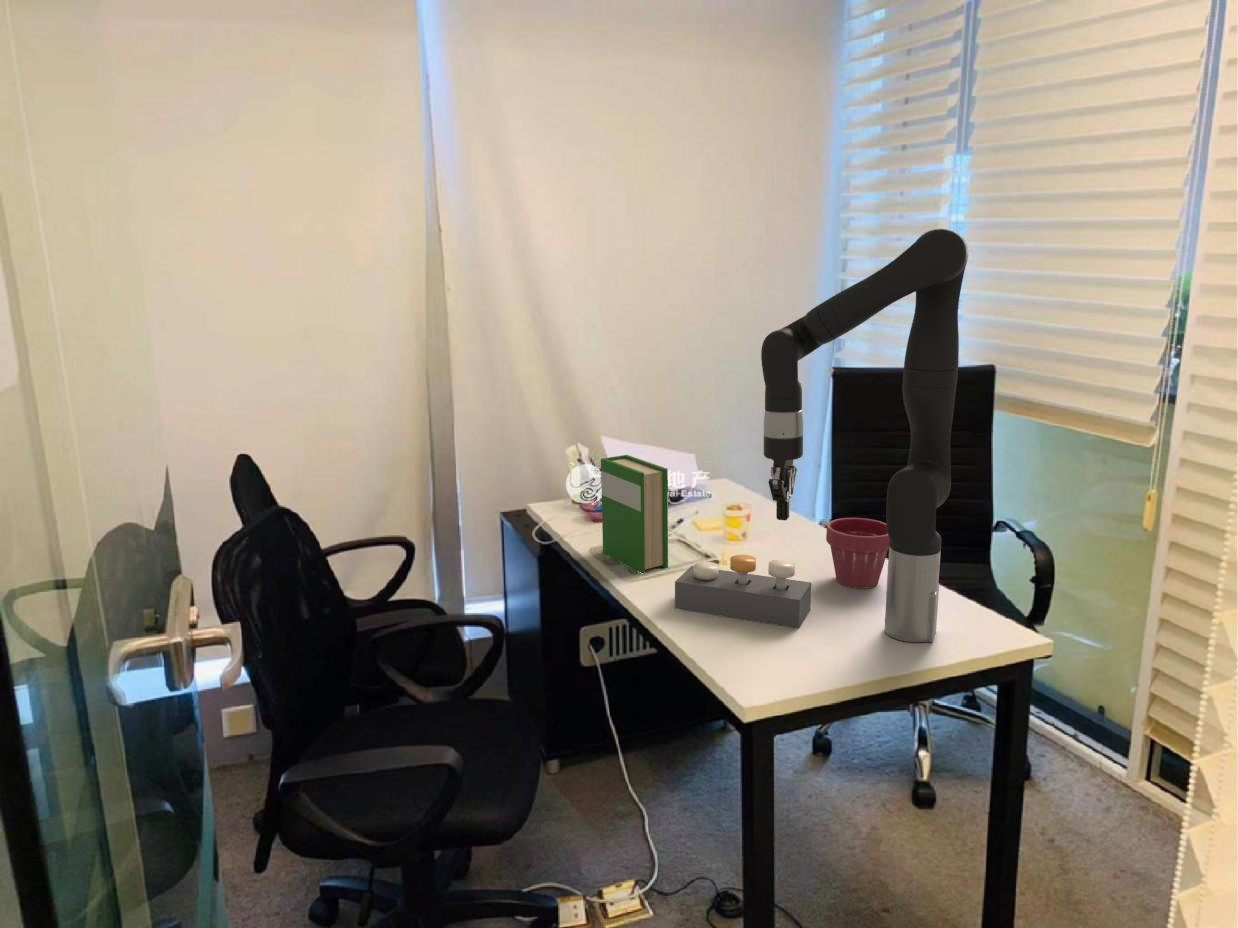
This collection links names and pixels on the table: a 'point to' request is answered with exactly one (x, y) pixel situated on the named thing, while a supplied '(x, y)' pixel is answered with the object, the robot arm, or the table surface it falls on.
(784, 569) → the near knob
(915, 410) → the robot arm
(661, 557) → the hardback book
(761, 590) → the control block
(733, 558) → the middle knob
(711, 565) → the far knob
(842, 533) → the plant pot
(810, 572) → the table surface
